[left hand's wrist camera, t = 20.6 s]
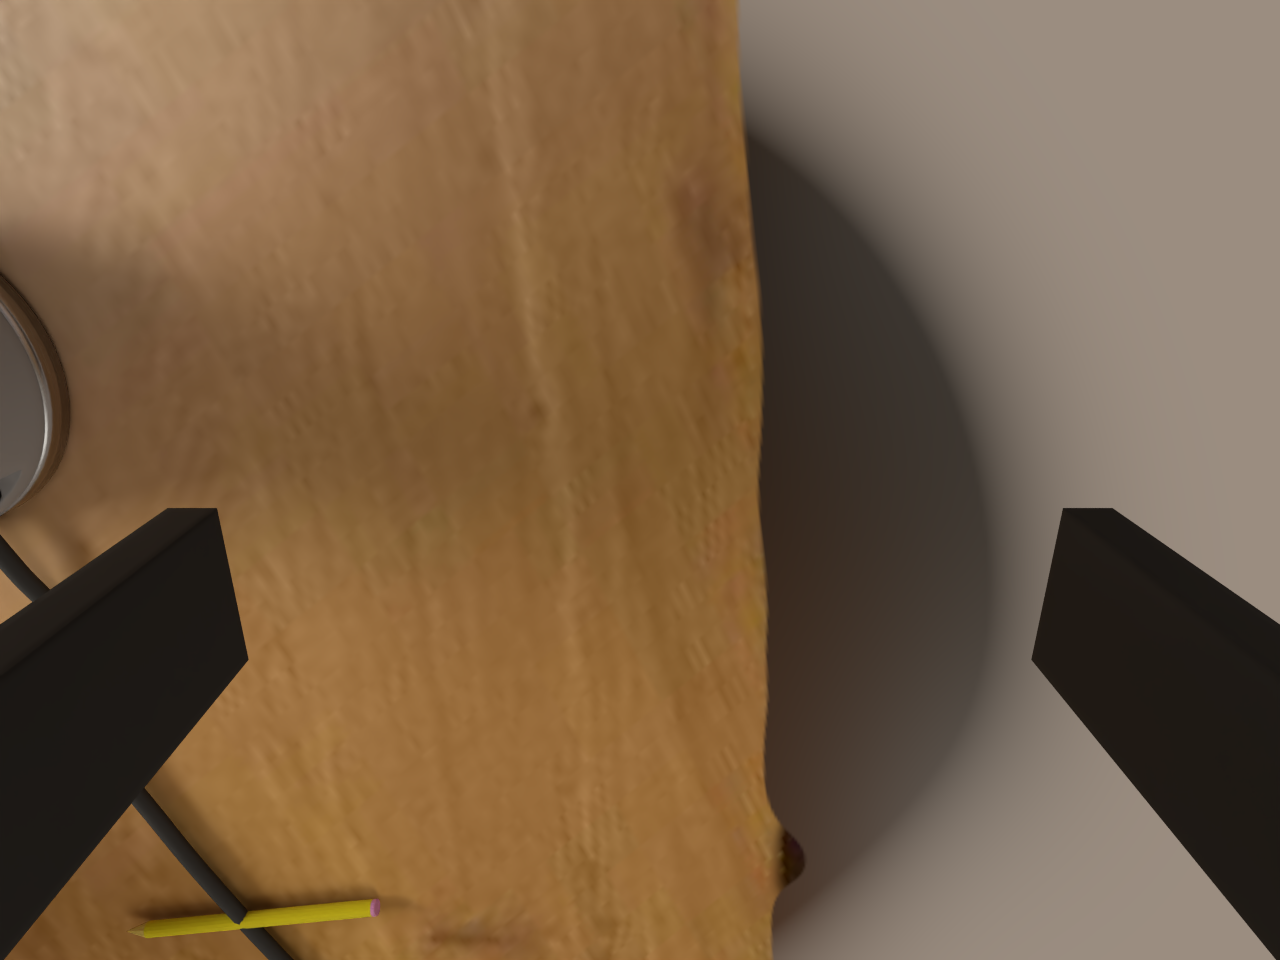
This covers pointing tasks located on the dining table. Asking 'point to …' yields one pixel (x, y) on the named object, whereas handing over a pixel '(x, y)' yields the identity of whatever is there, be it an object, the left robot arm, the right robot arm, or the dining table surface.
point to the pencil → (259, 918)
